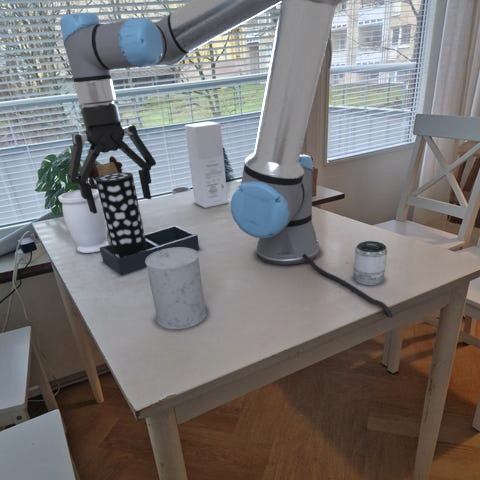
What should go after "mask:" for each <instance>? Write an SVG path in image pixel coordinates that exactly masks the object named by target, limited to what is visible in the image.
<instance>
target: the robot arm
mask: <svg viewBox="0 0 480 480" xmlns="http://www.w3.org/2000/svg"><path fill="white" fill-rule="evenodd" d="M342 2H344V0H190V1H188V2H187V3H185V4H183V5H182V6H181V7H179V8H177V9H176V10H174V11H173V12H171V13H170V14H168V15H165V16H164V17H163V18H161V19H159V20H158V21H155V22H154V21H152V19H150V18H146V17H142V18H139V17H135V18H134V17H132V18H128V19H125V20H121V21H120V20H119V21H113V22H108V23H101V22H100V18H99V16H98V14H96V13H93V12H77V13H69V14H65V15H62V16H61V18H60V20H59V25H60V30H61V31H60V32H61V36H62V43H63V46H64V49H65V53H66V56H67V61H68V64H69V67H70V70H71V75H72V80H73V83H74V88H75V92H76V96H77V99H78V103H79V105H81V106H82V107H81V108H80V112H81V117H82V120H83V124H84V125H83V126H84V128H85V133H83V134H82V133H81V134H79V133H72V135H71V139H72V150H71V155H70V162H69V166H68V167H69V168H68V174H67V181H68V182H70V183H72V184H77V186H78V190H80V193H81V196H82V198H84V199H87V202H88V206H89V209H90V212H92V213H94V214H95V213H97V209H96V205H95V201H94V198H93V194H92V190H91V186H90V185H91V184H90V183H89V182H87V180H89V177H88V176H89V174H90V172H91V170H92V168H93V165H94V163H95V164H96V161H97V159H98V157H99V156H100V154H101V153H103V154H106V153H109V152H116V151H118V150H120V151H121V152H122V153H124V154H125V155H126V156H127V157H128V158H129V159H130V160H131V161H133V163H135V164H136V165H137V166H138V167H139V168H141V169H138V170H137V172H138V177H139V181H140V186H141V191H142V196H143V198H144V199H146V200H152V195H151V189H150V184H152V176H151V172H150V171H151V170H152V167H155V166H156V165H157V162H156V160H155V158H154V157H153V155H152V154H151V152H150V151H149V149H148V148H147V146H146V144H145V143H144V142H143V140H142V139H141V138H140V136H139V133H138V130H137V127H136V125H135V124H127V125H126V126H124V127H123V126H122V123H121V117H120V111H119V108H118V107H119V106H118V105H117V104H116V103H115V102H116V100H117V98H116V93H115V88H114V83H113V79H112V73H111V71H112V70H119V69H133V68H146V67H152V66H173V65H175V64H178V63H180V62H182V61H183V60H184V59H185V58H186V56H187V55H188V54H190V53H191V52H193V51H194V50H196V49H198V48H200V47H202V46H204V45H206V44H207V43H209V42H211V41H213V40H215V39H216V38H219V37H220V36H222V35H224V34H226V33H228V32H229V31H232V30H234V29H235V28H237V27H239V26H240V25H243V24H244V23H246V22H248V21H250V20H252V19H253V18H255V17H257V16H259V15H261V14H262V13H265V12H266V11H268V10H271V9H272V8H274V7H275V6H277V5H279V4H280V7H279V13H278V18H277V24H276V30H275V34H274V41H273V45H272V52H271V58H270V61H269V68H268V74H267V80H266V85H265V91H264V97H263V101H262V106H261V107H262V108H261V114H260V119H259V125H258V130H257V134H256V135H257V136H256V142H255V147H254V151H253V153H251V154H250V155H249V156H247V157H246V158H245V159H244V164H243V170H242V174H241V175H242V176H241V182H240V185H239V186H237V187H236V188H235V190H234V192H233V194H232V195H231V199H230V205H229V206H230V213H231V216H232V219H233V220H234V222H235V223H236V225H237V226H238V228H239V229H240V230H241V231H242V232H243V233H245V234H246V235H249V236H251V237H253V238H256V239H258V241H257V243H256V247H255V249H256V257H257V258H258V259H259V260H261V261H262V262H265V263H266V264H271V265H277V266H293V265H301V264H306V263H308V264H309V265H310V266H311V267H312V268H313V269H314V270H315V271H317V272H318V273H319V274H321V275H323V276H324V277H327V278H329V279H331V280H332V281H335V282H337V283H338V284H341V285H342V286H344V287H346V288H347V289H349V290H351V291H352V292H354V293H355V294H357V295H358V296H359V297H361V298H362V299H364V300H366V301H367V302H369V303H370V304H372V305H374V306H375V305H376V306H378V307H379V308H381V309H382V310H383V311H384V312H385V314H386V317H387V318H390V319H392V318H393V317H394V315H393V313H392V311H391V309H390V307H388V306H387V304H386V303H385V302H383V301H381V300H377V299H375V298H373V297H371V296H369V295H368V294H366V293H365V292H363V291H362V290H360V289H358V288H357V287H355V286H354V285H353V284H351V283H349V282H347V281H346V280H344V279H343V278H340V277H338V276H336V275H334V274H332V273H329V272H328V271H326V270H324V269H322V267H319V266H318V265H317V264H316V262H314V261H313V260H314V259H316V258H317V257H318V255H319V254H320V245H319V240H318V238H317V235H316V231H315V228H314V225H313V173H314V168H313V159H312V157H311V156H310V155H307V154H302V149H303V145H304V141H305V137H306V133H307V128H308V125H309V120H310V116H311V112H312V109H313V104H314V100H315V96H316V91H317V88H318V83H319V79H320V74H321V71H322V66H323V63H324V59H325V54H326V50H327V45H328V42H329V38H330V33H331V29H332V25H333V20H334V16H335V13H336V9H337V7H338V6H339V5H340V4H341V3H342ZM125 135H126V136H127V137H128V138H129V139H130V140H131V142H132V143H133V144H134V146H135V148H136V150H137V151H138V152H139V154H140V155H141V156H142V157H141V156H139V155H138V154H137V153H136V152H135V151H134V150H133V149H132V148H130V146H129V145H128V144H127V143H126V142H125V141H124V140H123V139H124V137H125ZM86 141H87V142H88V143H89V144H90V147H89V149H88V150H87V151H88V152H87V155H86V157H85V159H84V161H83V163H82V165H81V161H82V154H83V148H84V145H85V144H86ZM80 165H81V168H80Z"/></svg>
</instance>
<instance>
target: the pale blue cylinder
mask: <svg viewBox="0 0 480 480" xmlns="http://www.w3.org/2000/svg"><path fill="white" fill-rule="evenodd" d="M199 256H200V255H199V252H198V250H196V251H195V250H194V249H191V248H185V247H174V248H167V249H163V250H159V251H157V252H154V253H152V254H150V255H149V256H148V257H147V258H146V260H145V263H146V265H147V267H146V271H147V275H148V279H149V284H150V290H151V294H152V299H153V305H154V309H155V313H156V314H155V315H156V321H157V323H158V324H159V325H160V326H161V327H163V328H165V329H169V330H183V329H184V330H185V329H189V328H192V327H194V326H197V325H198V324H200V323H202V322H203V321H204V319H205V318H206V317H207V310H206V305H205V298H204V290H203V283H202V276H201V275H202V274H201V268H200V267H201V266H200V260H199V259H200V258H199Z"/></svg>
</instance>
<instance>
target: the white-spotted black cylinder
mask: <svg viewBox="0 0 480 480" xmlns="http://www.w3.org/2000/svg"><path fill="white" fill-rule="evenodd" d="M94 181H95V185H96V186H97V188H98V192H99V196H100V200H101V204H102V209H103V213H104V217H105V221H106V225H107V234H108V236H109V241H110V244H111V245H112V250H113V254H114V255H115V256H116V257H118V258H119V259H120V258H123V257H126V256H129V255H132V254H135V253H138V252H142V251H145V250H148V249H147V244H146V239H145V234H146V233H145V229H144V224H143V220H142V214H141V210H140V209H141V208H140V204H139V200H138V195H137V190H136V185H135V184H136V183H135V179H134V175H133V173H132V172H129V171H127V172H126V171H122V172H119V173H111V174H106V175H102V176H99V177H97V178H96V179H95V180H94Z"/></svg>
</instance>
